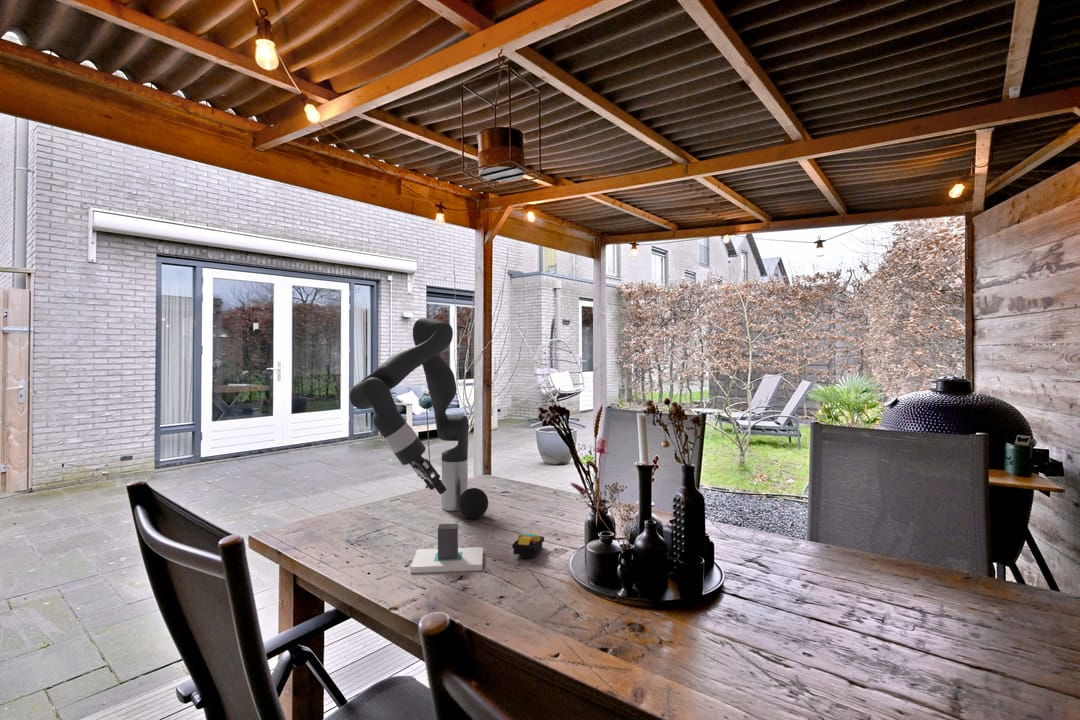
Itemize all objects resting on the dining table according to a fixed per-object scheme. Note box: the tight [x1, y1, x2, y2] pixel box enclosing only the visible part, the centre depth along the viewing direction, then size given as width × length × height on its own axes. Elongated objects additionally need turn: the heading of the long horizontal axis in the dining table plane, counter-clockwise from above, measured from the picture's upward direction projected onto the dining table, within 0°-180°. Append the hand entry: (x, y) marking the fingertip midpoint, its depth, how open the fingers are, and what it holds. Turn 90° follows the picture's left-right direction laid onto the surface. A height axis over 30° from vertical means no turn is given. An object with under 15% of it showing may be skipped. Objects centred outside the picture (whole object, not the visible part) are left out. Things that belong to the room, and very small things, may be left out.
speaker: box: [458, 487, 489, 520], centre depth 178 cm, size 10×10×10 cm
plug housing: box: [437, 523, 459, 560], centre depth 140 cm, size 5×4×8 cm
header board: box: [409, 546, 484, 574], centre depth 140 cm, size 18×12×4 cm, turn 95°
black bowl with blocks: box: [511, 531, 545, 559], centre depth 146 cm, size 6×13×6 cm, turn 166°
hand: (438, 489), depth 145 cm, fingers open, 8 cm apart
